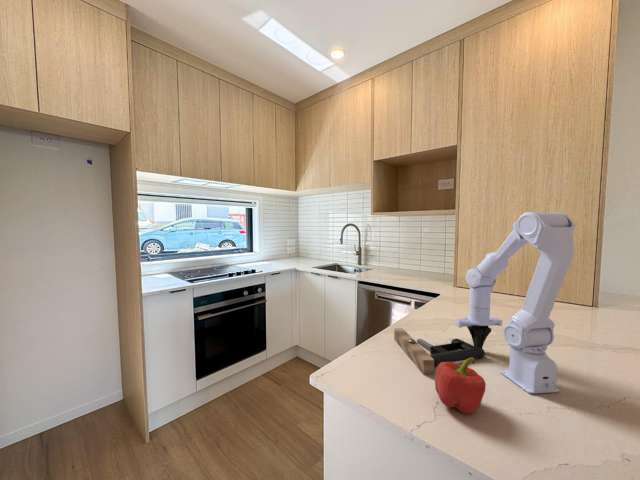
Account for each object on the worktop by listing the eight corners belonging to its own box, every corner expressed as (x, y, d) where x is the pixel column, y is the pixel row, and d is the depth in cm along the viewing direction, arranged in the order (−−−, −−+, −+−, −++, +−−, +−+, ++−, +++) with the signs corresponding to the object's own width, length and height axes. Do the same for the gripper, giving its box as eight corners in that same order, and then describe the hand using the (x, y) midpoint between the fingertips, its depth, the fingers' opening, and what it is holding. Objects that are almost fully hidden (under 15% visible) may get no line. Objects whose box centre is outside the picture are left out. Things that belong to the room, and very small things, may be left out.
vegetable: (453, 384, 68) (454, 347, 67) (496, 410, 59) (498, 366, 58) (423, 398, 63) (424, 357, 62) (465, 428, 54) (467, 380, 53)
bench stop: (433, 373, 73) (434, 357, 72) (423, 374, 72) (423, 358, 72) (402, 339, 95) (402, 326, 94) (393, 339, 94) (394, 326, 94)
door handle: (401, 339, 90) (433, 359, 75) (451, 332, 95) (490, 350, 80) (402, 348, 90) (434, 371, 75) (451, 341, 95) (490, 361, 80)
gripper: (491, 302, 89) (489, 341, 90) (450, 303, 88) (449, 343, 89) (508, 308, 82) (506, 351, 83) (463, 310, 81) (462, 353, 82)
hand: (477, 347), depth 85 cm, fingers closed
